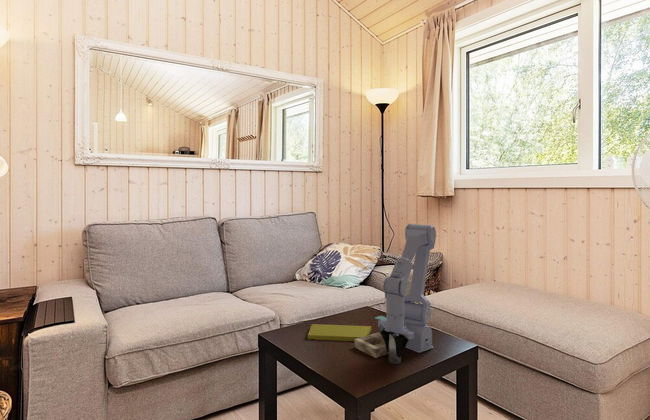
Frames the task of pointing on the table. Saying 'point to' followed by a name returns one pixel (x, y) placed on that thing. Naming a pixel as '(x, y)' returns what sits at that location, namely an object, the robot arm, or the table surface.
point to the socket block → (372, 345)
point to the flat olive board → (338, 332)
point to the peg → (393, 349)
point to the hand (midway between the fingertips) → (394, 354)
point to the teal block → (380, 320)
